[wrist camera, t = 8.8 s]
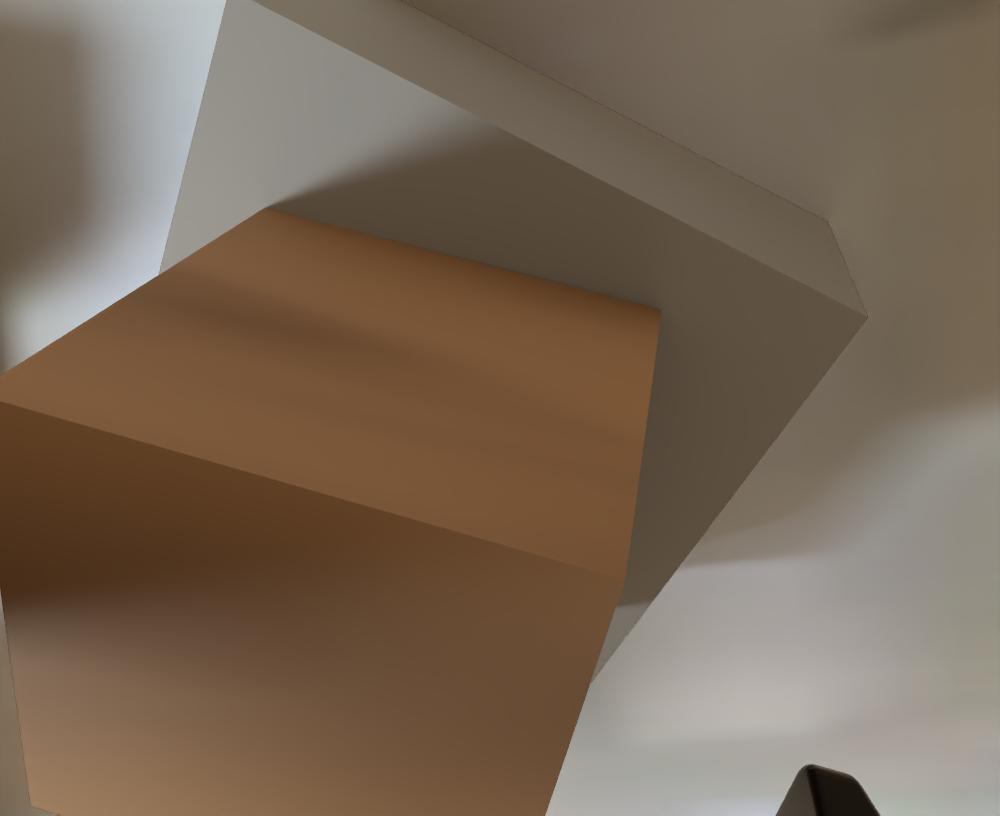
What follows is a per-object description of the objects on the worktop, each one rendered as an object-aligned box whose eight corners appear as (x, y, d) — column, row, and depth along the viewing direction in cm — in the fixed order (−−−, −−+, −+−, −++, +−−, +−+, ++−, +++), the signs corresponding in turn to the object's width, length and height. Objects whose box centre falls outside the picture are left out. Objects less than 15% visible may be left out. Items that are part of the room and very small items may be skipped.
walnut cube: (568, 616, 13) (496, 959, 9) (248, 523, 13) (31, 806, 9) (661, 310, 10) (626, 580, 6) (264, 207, 11) (-27, 393, 7)
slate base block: (587, 566, 18) (560, 723, 14) (221, 386, 17) (101, 503, 14) (825, 215, 14) (867, 317, 10) (352, -30, 13) (229, -11, 10)
